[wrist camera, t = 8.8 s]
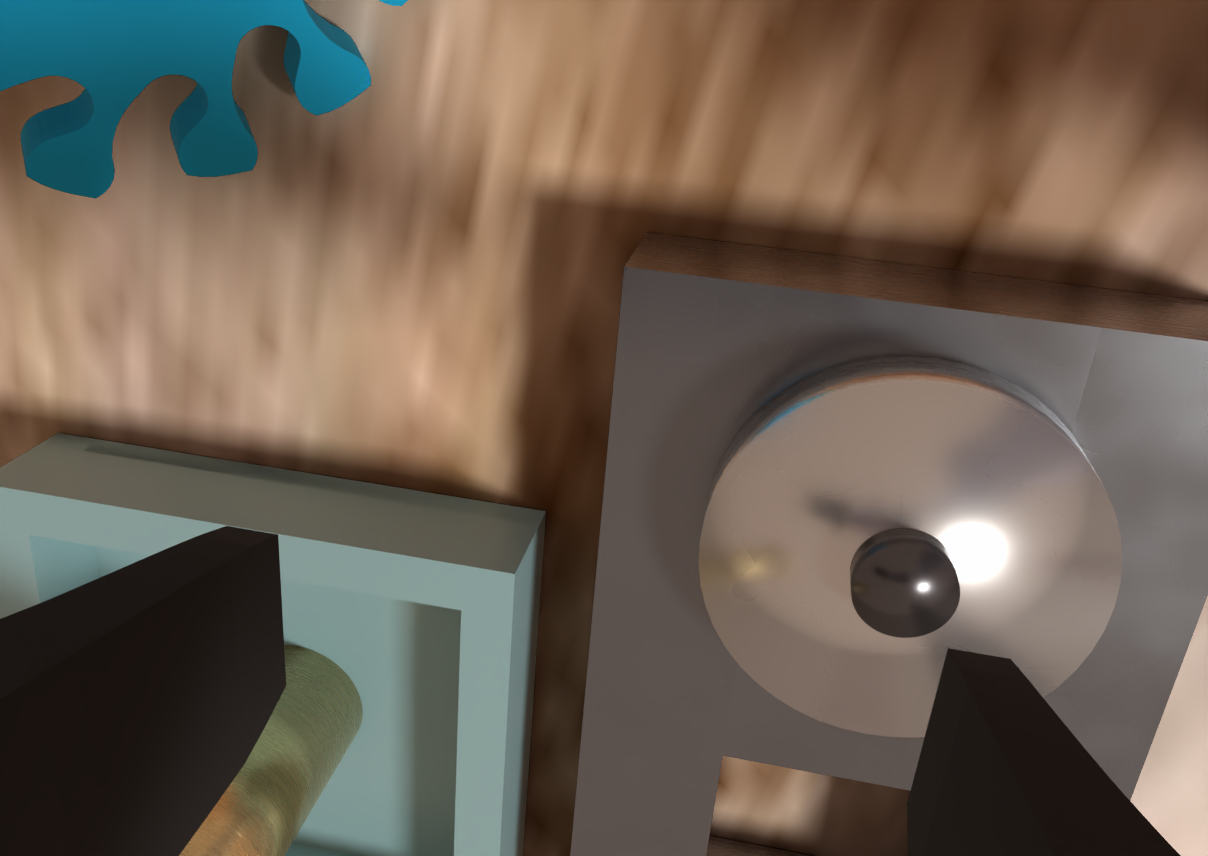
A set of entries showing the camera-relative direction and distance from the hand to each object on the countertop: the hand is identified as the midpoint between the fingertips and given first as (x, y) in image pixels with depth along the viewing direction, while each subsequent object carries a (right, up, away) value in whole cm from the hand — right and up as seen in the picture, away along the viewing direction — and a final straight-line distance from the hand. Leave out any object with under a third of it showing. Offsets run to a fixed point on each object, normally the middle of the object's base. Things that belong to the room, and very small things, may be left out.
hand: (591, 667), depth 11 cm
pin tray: (-7, -3, +13) cm, 15 cm away
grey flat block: (+5, -2, +10) cm, 12 cm away
